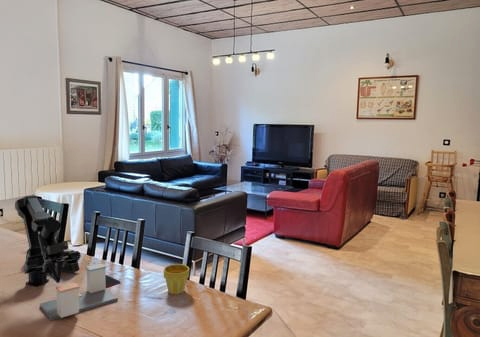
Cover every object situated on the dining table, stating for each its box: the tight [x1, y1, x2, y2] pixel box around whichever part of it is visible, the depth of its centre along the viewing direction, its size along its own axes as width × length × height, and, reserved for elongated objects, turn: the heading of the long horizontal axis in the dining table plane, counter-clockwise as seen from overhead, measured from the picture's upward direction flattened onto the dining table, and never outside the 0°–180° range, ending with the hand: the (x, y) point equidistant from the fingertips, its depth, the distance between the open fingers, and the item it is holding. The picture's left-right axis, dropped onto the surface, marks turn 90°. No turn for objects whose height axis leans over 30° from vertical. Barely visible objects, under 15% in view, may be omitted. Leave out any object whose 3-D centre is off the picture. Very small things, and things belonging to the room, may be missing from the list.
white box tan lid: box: [55, 282, 80, 319], centre depth 131 cm, size 4×6×10 cm
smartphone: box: [105, 274, 121, 289], centre depth 164 cm, size 7×1×15 cm
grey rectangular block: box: [85, 263, 107, 293], centre depth 150 cm, size 4×6×10 cm
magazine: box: [25, 247, 80, 273], centre depth 175 cm, size 17×3×30 cm
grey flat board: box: [39, 288, 119, 321], centre depth 142 cm, size 13×24×2 cm, turn 133°
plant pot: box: [163, 263, 190, 295], centre depth 155 cm, size 10×10×10 cm
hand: (58, 282), depth 138 cm, fingers closed
